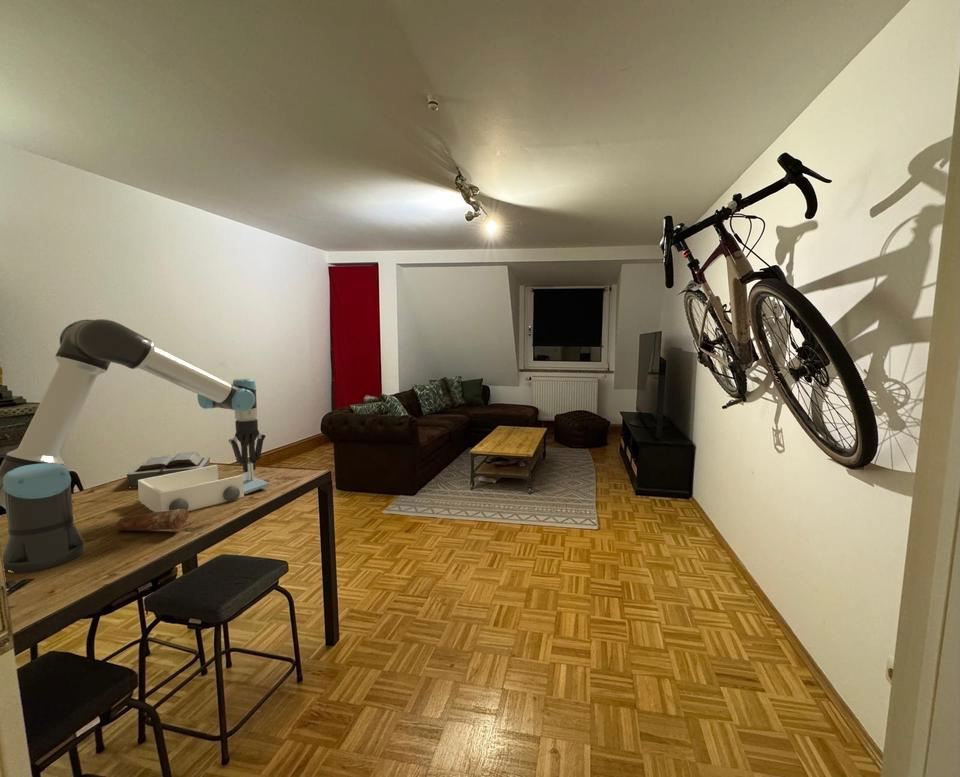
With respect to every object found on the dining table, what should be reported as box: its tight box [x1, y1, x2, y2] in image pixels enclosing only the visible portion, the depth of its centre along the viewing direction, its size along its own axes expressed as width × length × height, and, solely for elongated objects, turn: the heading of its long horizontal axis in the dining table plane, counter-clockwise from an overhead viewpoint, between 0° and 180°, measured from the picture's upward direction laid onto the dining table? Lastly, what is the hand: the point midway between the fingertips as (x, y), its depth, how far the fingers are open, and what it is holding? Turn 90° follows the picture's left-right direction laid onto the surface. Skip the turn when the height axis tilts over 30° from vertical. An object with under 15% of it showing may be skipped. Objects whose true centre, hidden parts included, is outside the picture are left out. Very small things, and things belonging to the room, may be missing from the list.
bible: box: [126, 451, 211, 488], centre depth 177 cm, size 23×27×10 cm
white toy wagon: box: [137, 464, 245, 513], centre depth 154 cm, size 25×25×8 cm
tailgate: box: [237, 472, 270, 495], centre depth 168 cm, size 1×20×10 cm
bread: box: [116, 509, 189, 532], centre depth 128 cm, size 6×19×6 cm, turn 90°
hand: (249, 479), depth 170 cm, fingers closed
